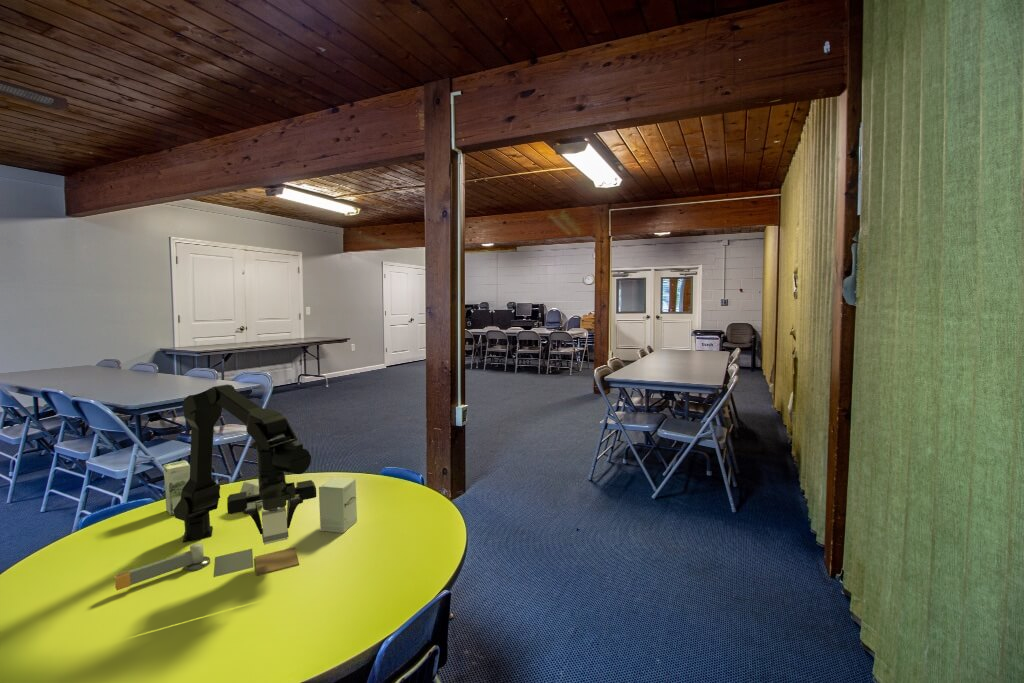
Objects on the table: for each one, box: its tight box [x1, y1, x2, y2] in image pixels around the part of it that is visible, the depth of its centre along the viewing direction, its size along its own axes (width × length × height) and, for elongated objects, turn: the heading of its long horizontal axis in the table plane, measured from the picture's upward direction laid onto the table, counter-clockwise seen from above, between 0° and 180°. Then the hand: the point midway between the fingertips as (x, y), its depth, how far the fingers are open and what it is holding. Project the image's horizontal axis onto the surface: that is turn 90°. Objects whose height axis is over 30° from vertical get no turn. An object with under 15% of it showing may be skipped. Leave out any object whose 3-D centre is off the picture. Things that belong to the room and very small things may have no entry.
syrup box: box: [162, 460, 190, 516], centre depth 146 cm, size 6×6×14 cm
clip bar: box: [114, 542, 205, 591], centre depth 110 cm, size 16×3×4 cm, turn 137°
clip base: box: [184, 555, 211, 572], centre depth 115 cm, size 5×5×1 cm
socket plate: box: [213, 548, 254, 578], centre depth 116 cm, size 10×8×1 cm
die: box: [239, 478, 263, 509], centre depth 148 cm, size 8×9×10 cm
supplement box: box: [318, 477, 358, 534], centre depth 135 cm, size 7×7×13 cm
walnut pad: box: [254, 546, 300, 577], centre depth 117 cm, size 9×9×1 cm
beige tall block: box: [261, 506, 289, 546], centre depth 116 cm, size 5×5×8 cm
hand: (274, 530), depth 116 cm, fingers closed on beige tall block, 5 cm apart
